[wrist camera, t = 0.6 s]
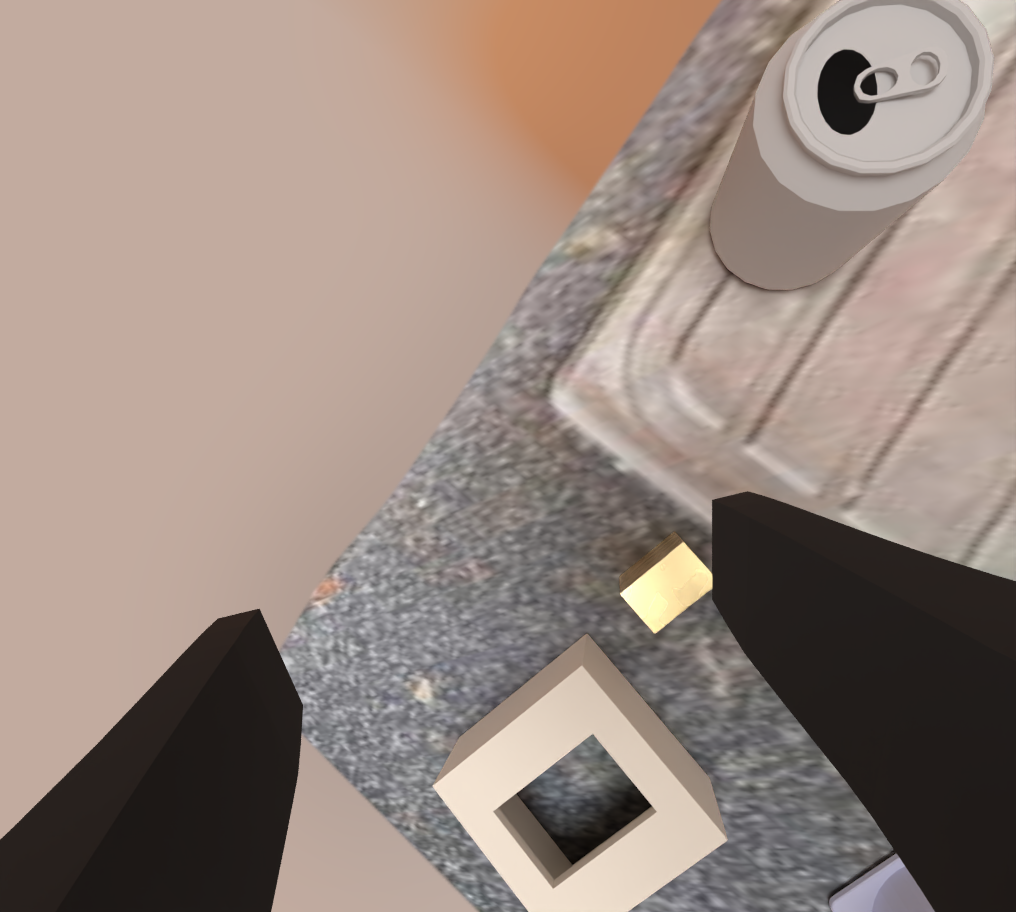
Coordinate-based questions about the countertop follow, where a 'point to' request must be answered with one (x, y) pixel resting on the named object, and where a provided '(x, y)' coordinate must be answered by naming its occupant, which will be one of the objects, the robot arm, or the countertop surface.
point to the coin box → (546, 739)
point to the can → (849, 135)
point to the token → (665, 582)
